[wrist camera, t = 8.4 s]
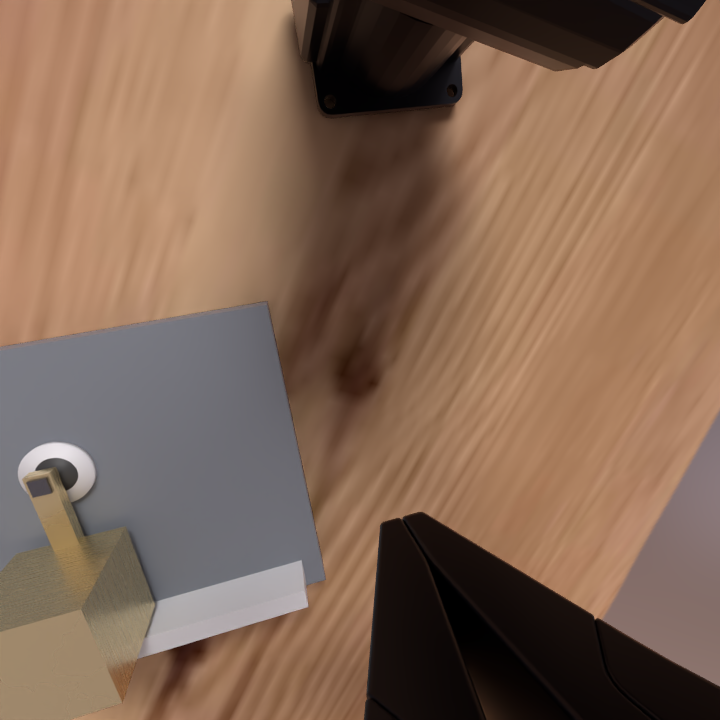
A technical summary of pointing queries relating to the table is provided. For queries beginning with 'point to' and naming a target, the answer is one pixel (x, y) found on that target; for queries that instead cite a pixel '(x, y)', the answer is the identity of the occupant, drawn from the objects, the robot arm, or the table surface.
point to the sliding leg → (69, 615)
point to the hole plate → (168, 463)
